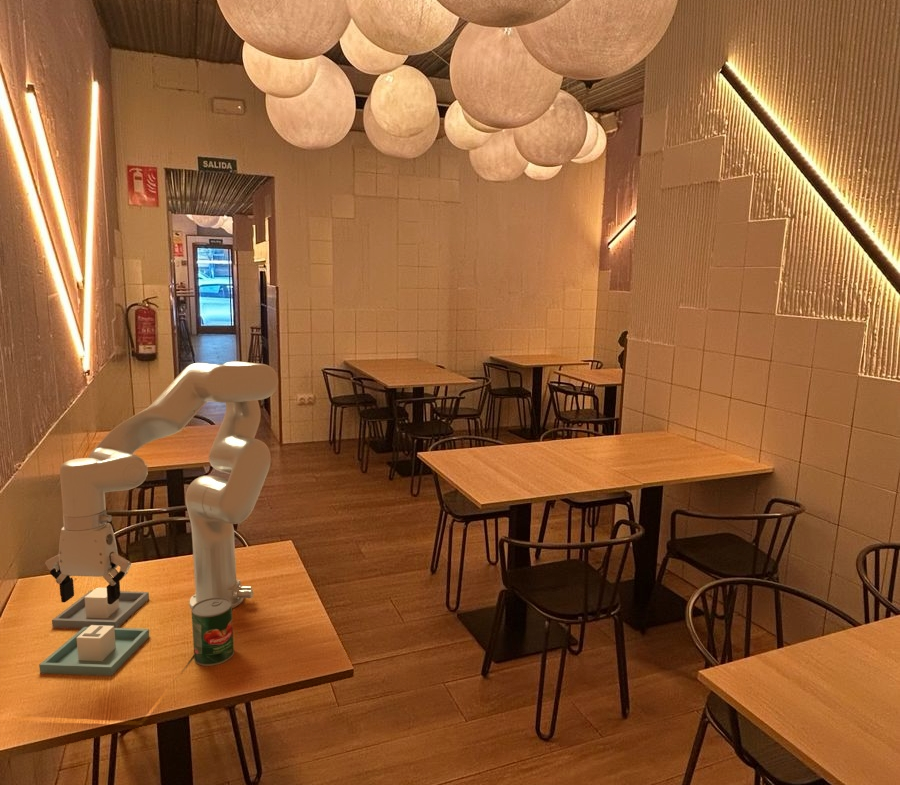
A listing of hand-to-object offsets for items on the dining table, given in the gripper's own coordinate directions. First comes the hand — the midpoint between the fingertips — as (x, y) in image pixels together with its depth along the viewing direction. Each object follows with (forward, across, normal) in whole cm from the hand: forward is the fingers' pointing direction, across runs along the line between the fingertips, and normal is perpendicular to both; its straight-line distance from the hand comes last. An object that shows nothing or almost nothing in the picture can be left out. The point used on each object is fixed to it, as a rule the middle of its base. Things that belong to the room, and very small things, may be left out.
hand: (90, 600), depth 133 cm
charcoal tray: (+12, +9, -18) cm, 23 cm away
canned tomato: (+13, -24, -2) cm, 28 cm away
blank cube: (+12, +9, -18) cm, 23 cm away
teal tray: (+13, 0, 0) cm, 13 cm away
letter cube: (+12, 0, 0) cm, 12 cm away
